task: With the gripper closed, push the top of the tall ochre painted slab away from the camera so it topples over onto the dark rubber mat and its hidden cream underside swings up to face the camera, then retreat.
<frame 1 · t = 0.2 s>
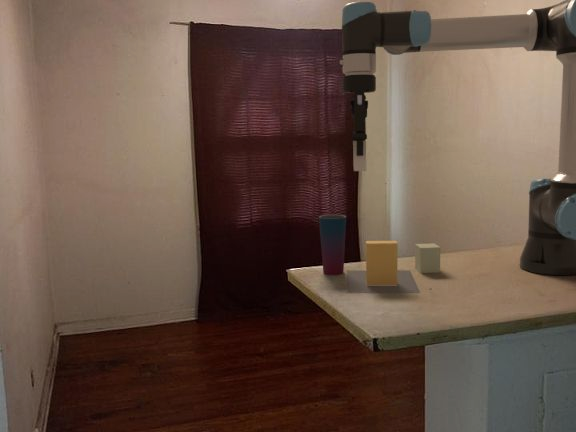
hand: (359, 168, 137), 27 cm above the countertop, fingers open, 13 cm apart
mat: (380, 283, 141), on the countertop
ochre slab: (381, 284, 138), point 1 cm above the countertop, touching mat
sage block: (427, 272, 150), on the countertop
cup: (333, 275, 150), on the countertop
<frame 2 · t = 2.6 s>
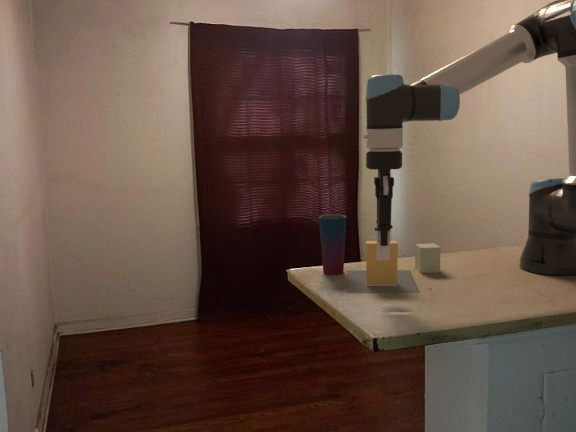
hand: (383, 259, 128), 9 cm above the countertop, fingers closed
nothing on the countertop moved.
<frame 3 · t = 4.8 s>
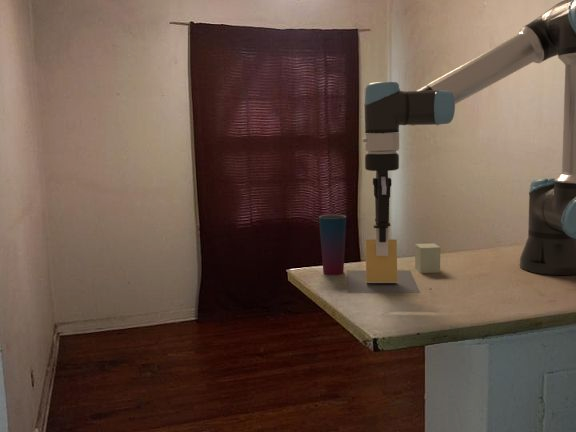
hand: (382, 255, 136), 8 cm above the countertop, fingers closed
ochre slab: (381, 282, 138), point 1 cm above the countertop, tilted 13°, touching gripper, mat
everything else where it was.
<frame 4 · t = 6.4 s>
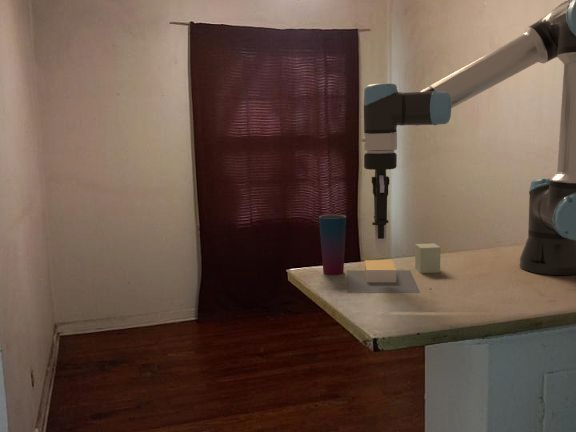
hand: (380, 251, 141), 8 cm above the countertop, fingers closed
ochre slab: (381, 276, 139), point 2 cm above the countertop, tilted 90°, touching mat
everything else where it was.
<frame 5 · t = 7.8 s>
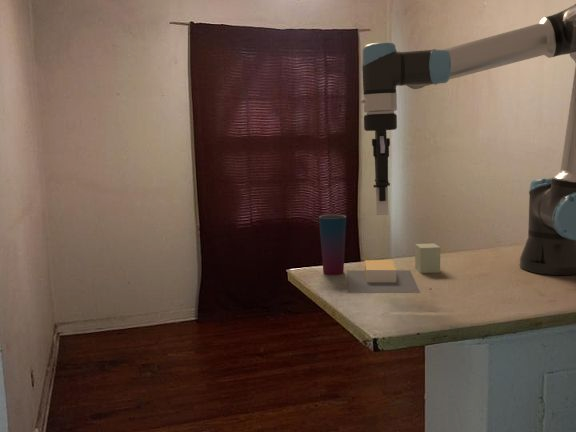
hand: (382, 214, 139), 17 cm above the countertop, fingers closed
nothing on the countertop moved.
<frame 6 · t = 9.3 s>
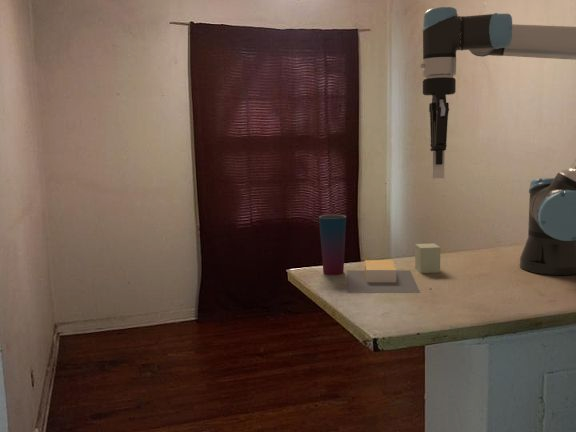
hand: (437, 178, 142), 24 cm above the countertop, fingers closed
nothing on the countertop moved.
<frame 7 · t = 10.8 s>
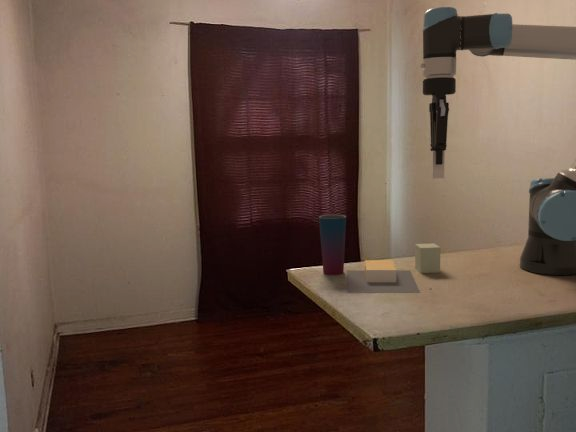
hand: (437, 177, 142), 24 cm above the countertop, fingers closed
nothing on the countertop moved.
at the end: ochre slab tilted 90°; ochre slab inside the target area (0.1 cm from its centre), point 2.1 cm above the countertop; ochre slab touching mat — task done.
